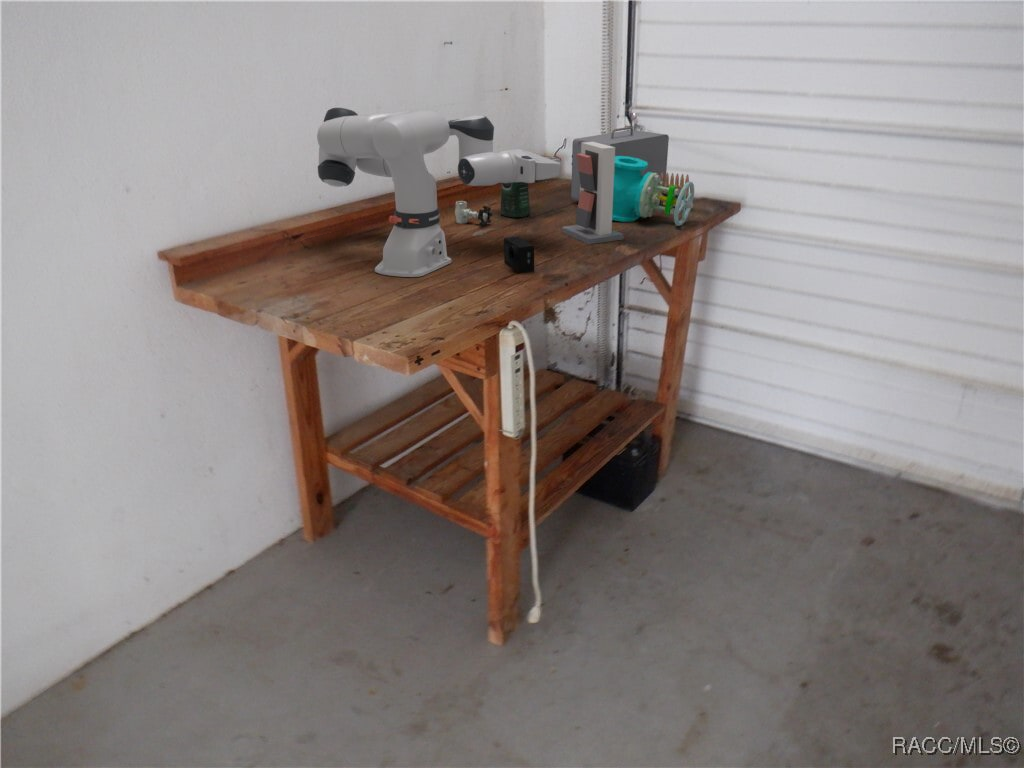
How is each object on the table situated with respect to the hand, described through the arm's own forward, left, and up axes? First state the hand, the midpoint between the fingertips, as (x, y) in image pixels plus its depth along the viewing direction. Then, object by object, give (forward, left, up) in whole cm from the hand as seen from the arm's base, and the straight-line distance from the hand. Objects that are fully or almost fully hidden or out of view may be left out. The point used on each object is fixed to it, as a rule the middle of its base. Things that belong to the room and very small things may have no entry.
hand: (558, 161), depth 234 cm
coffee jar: (+25, +22, -23) cm, 40 cm away
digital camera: (-30, +2, -23) cm, 38 cm away
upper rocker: (+6, -7, -9) cm, 13 cm away
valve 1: (+10, +31, -23) cm, 40 cm away
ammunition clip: (+50, -26, -23) cm, 61 cm away
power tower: (+7, -8, -23) cm, 25 cm away
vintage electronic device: (+57, -5, -23) cm, 61 cm away
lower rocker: (+5, -6, -19) cm, 21 cm away
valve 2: (+30, -21, -23) cm, 43 cm away
